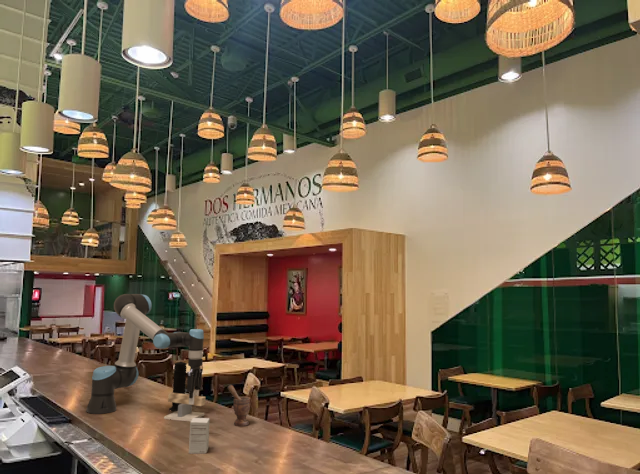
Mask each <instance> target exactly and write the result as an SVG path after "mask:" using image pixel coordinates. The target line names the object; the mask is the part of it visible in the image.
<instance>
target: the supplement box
mask: <svg viewBox="0 0 640 474" xmlns="http://www.w3.org/2000/svg"><path fill="white" fill-rule="evenodd" d="M210 421H211V420H210V417H200V418H193V419H192V420H191V421H189V436H188V437H189V439H188V441H189V442H188V454H192V455H193V454H197V455H198V454H201V455H202V454H207V452H208V450H209V438H210Z"/></svg>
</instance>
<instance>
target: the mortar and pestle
mask: <svg viewBox="0 0 640 474" xmlns="http://www.w3.org/2000/svg"><path fill="white" fill-rule="evenodd" d="M227 390H228V391H229V393H230V394H231V395H232V396H233V397H234V398H233V405H232V406H233V411H234V415H236V419H235V421H234V422H233V425H234V426H237V427H247V426H248V425H249V423H250V422H249V420H248V419H247V416H248V415H249V412H250V409H251V400H252V399H251V397H250V396H239V394H238V393H237V390H236V389H235V387H234V385H232V384H229V385H228V386H227Z"/></svg>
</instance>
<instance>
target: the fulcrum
mask: <svg viewBox="0 0 640 474" xmlns="http://www.w3.org/2000/svg"><path fill="white" fill-rule="evenodd" d="M204 416H205V412H197V411H196V412H195V411H193V405H189V404H180V405H178V411H172V413H169V414H167V415H165V416H164V417H163V419H164V420H170V419H171V420H173V421H183V422H184V421H185V422H191V420H192V419H193V418H203V417H204ZM171 420H170V421H171Z"/></svg>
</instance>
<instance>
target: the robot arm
mask: <svg viewBox="0 0 640 474" xmlns="http://www.w3.org/2000/svg"><path fill="white" fill-rule="evenodd" d="M152 307H153V306H152V301H151V299H150V297H149V296H148V295H146V294H141V293H124V294H123V293H122V294H120V295H119V296H117V297H116V298H115V300H114V302H113V309H114V311H115V313H116V314H117V315H118V316H119V317H120V318H121V319H123V320H125V325H124V330H123V334H122V339H121V345H120V349H119V355H118V360H116V361H115V362H114V365H104V366H99V367H97V368H95V369H94V370H93V372H92V376H91V378H92V379H91V380H92V381H91V394H90V398H89V401H88V404H87V406H86V413H87V412H88V414H93V415H94V414H95V415H97V414H98V415H100V414H109V413H113V412H115V411H117V402H116V399H115V390H116V389H117V390H118V389H121V388H128V387H131V386H132V385H134V384H135V383H136V382H137V381H138V378H139V375H140V374H139V372H140V371H139V370H138V367H137V364H136V362H135V360H136V359H135V357H136V352H137V347H138V343H139V339H140V338H139V337H140V331H141V332H142V333H143V334H144V335H146V336H147V337H148V338H149V339H151V340H152V343H153V345H154V347H155V348H156V349H162V350H163V349H169V348H177V347H188V355H187V356H188V360H187V366H188V367H189V368H190V369H189V371H186V380H187V381H186V383H187V384H186V391H187V392H188V393H189V394H188V395H189V404H193V405H192V406H195V405H194V397H195V396H200V390H201V389H202V380H203V379H202V378H203V377H202V376H203V371H204V370H203V368H201V367H202V366H203V362H204V361H203V358H204V356H203V355H204V338H205V335H204V330H203V329H202V328H201V329H200V328H193V329H190V330H189V331H188V332H182V331H174V332H168V331H166V330H164V329H163V327H161V326H159V325H158V323H156V322H154V321H153V320H152V319H150V318H149V317H148V316H147V315H148V314H150V312H151V310H152Z"/></svg>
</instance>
